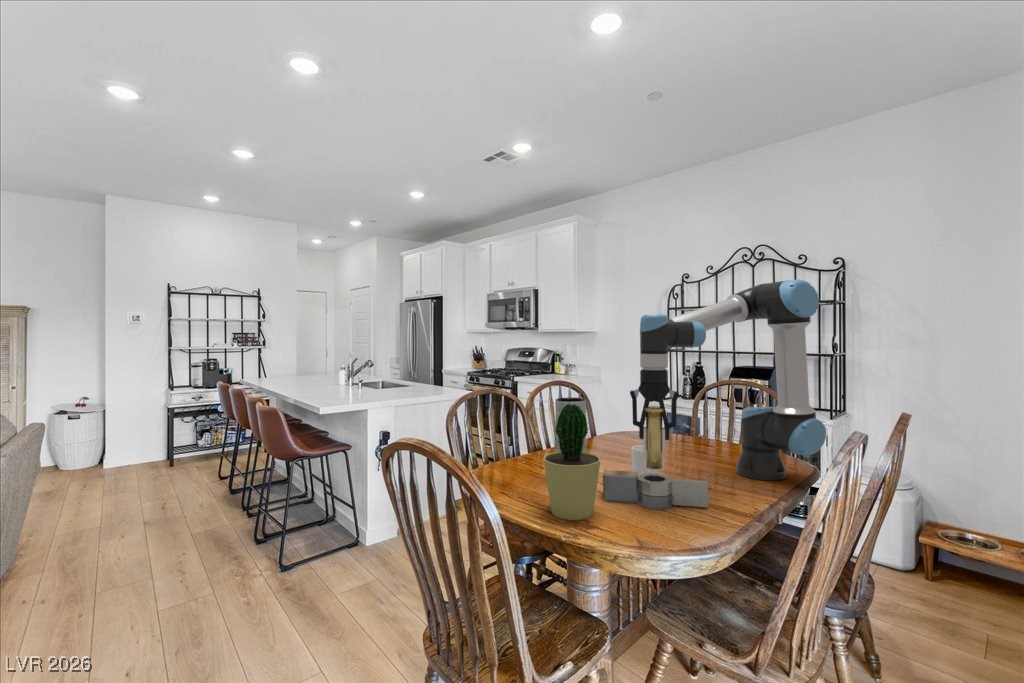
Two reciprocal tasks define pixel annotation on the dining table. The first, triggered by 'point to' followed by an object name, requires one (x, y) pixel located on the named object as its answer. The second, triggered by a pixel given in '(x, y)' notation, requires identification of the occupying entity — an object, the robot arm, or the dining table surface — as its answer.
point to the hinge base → (632, 493)
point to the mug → (642, 461)
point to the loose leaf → (675, 489)
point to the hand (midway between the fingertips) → (654, 450)
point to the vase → (559, 406)
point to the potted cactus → (572, 468)
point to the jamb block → (615, 472)
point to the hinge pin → (654, 437)
